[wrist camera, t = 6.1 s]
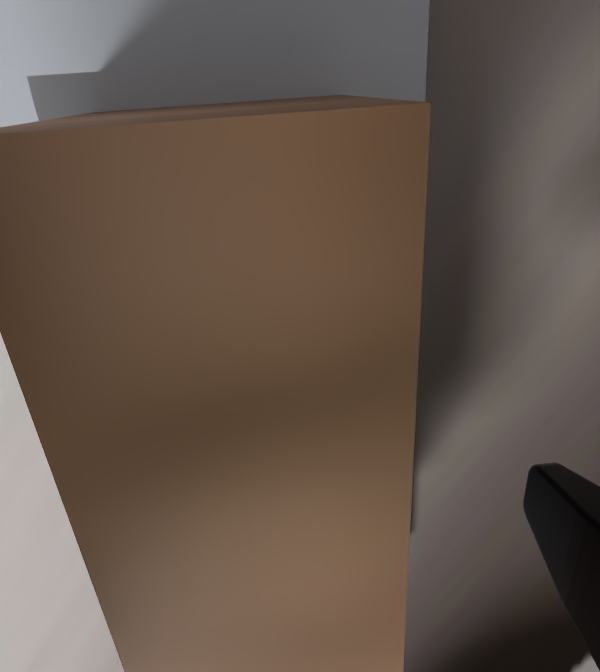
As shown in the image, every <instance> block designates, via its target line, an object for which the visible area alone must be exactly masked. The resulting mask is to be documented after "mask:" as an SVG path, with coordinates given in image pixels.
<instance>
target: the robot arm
mask: <svg viewBox="0 0 600 672" xmlns="http://www.w3.org/2000/svg"><path fill="white" fill-rule="evenodd" d="M523 507H524V512H525V515H526V518H527V520H528V523H529V525H530V527H531V530H532V532H533V534H534V537H535V539H536V541H537V544H538V546H539V548H540V551H541V553H542V555H543V558H544V560H545V562H546V565H547V567H548V569H549V572H550V574H551V577H552V579H553V581H554V584H555V586H556V588H557V591H558V593H559V595H560V597H561V599H562V601H563V604H564V606H565V608H566V610H567V612H568V613H569V615H570V617H571V619H572V621H573V623H574V625H575V627H576V628H577V630H578V632H579V634H580V636H581V637H582V639H583V641H584V643H585V645H586V647H587V648H588V650H589V652H590V654H591V656H592V657H593V659H594V661H595V663H596V665H597V667H598V668H599V670H600V486H598V485H596V484H594V483H593V482H591V481H589V480H587V479H586V478H584V477H582V476H580V475H578V474H577V473H575V472H573V471H571V470H570V469H568V468H566V467H564V466H563V465H561V464H558V463H544V464H536V465H533V466H532V467H531V468H530V469H529V473H528V478H527V484H526V489H525V495H524V501H523Z"/></svg>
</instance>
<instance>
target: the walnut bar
mask: <svg viewBox="0 0 600 672" xmlns="http://www.w3.org/2000/svg"><path fill="white" fill-rule="evenodd" d="M430 120H431V102H420V101H408V100H396V99H384V98H373V97H361V96H349V95H332V96H318V97H304V98H290V99H276V100H262V101H248V102H234V103H219V104H205V105H191V106H177V107H163V108H149V109H135V110H121V111H107V112H93V113H87V114H80V115H74V116H68V117H62V118H56V119H49V120H43V121H37V122H31V123H24V124H18V125H12V126H6V127H0V332H1V335H2V338H3V341H4V343H5V346H6V349H7V351H8V354H9V357H10V360H11V362H12V365H13V368H14V371H15V373H16V376H17V379H18V382H19V384H20V387H21V390H22V392H23V395H24V398H25V401H26V403H27V406H28V409H29V412H30V414H31V417H32V420H33V422H34V425H35V428H36V431H37V433H38V436H39V439H40V442H41V444H42V447H43V450H44V453H45V455H46V458H47V461H48V463H49V466H50V469H51V472H52V474H53V477H54V480H55V483H56V485H57V488H58V491H59V494H60V496H61V499H62V502H63V504H64V507H65V510H66V513H67V515H68V518H69V521H70V524H71V526H72V529H73V532H74V534H75V537H76V540H77V543H78V545H79V548H80V551H81V554H82V556H83V559H84V562H85V565H86V567H87V570H88V573H89V575H90V578H91V581H92V584H93V586H94V589H95V592H96V595H97V597H98V600H99V603H100V606H101V608H102V611H103V614H104V616H105V619H106V622H107V625H108V627H109V630H110V633H111V636H112V638H113V641H114V644H115V646H116V649H117V652H118V655H119V657H120V660H121V663H122V666H123V668H124V671H125V672H403V663H404V643H405V623H406V603H407V583H408V563H409V543H410V523H411V502H412V482H413V462H414V442H415V422H416V402H417V382H418V362H419V342H420V321H421V301H422V281H423V261H424V241H425V221H426V201H427V181H428V160H429V140H430Z"/></svg>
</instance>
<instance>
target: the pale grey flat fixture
mask: <svg viewBox="0 0 600 672" xmlns="http://www.w3.org/2000/svg"><path fill="white" fill-rule="evenodd" d="M429 7H430V0H0V127H6V126H12V125H18V124H24V123H31V122H37V121H43V120H49V119H56V118H62V117H68V116H74V115H80V114H87V113H93V112H107V111H121V110H135V109H149V108H163V107H177V106H191V105H205V104H219V103H234V102H248V101H262V100H276V99H290V98H304V97H318V96H332V95H349V96H361V97H373V98H384V99H396V100H408V101H420V102H425V95H426V73H427V51H428V29H429Z"/></svg>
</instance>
